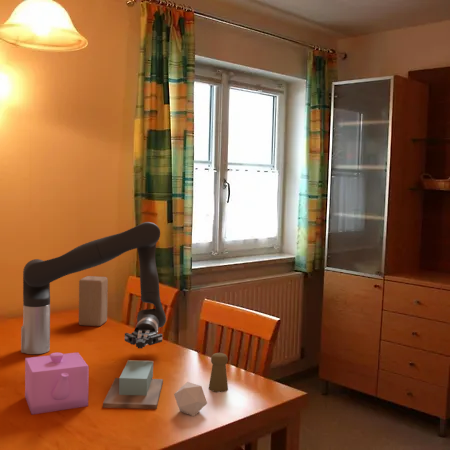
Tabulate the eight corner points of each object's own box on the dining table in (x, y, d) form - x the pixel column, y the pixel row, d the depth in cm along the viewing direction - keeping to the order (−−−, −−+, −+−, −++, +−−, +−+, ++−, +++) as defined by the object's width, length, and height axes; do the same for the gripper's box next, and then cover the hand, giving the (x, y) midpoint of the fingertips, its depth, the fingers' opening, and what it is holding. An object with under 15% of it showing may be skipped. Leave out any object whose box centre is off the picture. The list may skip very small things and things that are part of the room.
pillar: (127, 375, 181) (119, 394, 165) (128, 360, 180) (119, 378, 164) (152, 376, 181) (146, 395, 165) (153, 361, 180) (146, 378, 164)
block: (107, 321, 250) (108, 276, 249) (100, 327, 240) (101, 280, 239) (85, 319, 251) (86, 275, 250) (77, 325, 241) (78, 279, 240)
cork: (231, 387, 177) (232, 352, 176) (223, 393, 171) (224, 358, 170) (213, 383, 179) (215, 349, 178) (205, 389, 174) (206, 355, 173)
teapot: (35, 425, 146) (35, 372, 145) (22, 391, 168) (23, 345, 167) (94, 416, 153) (95, 365, 151) (74, 384, 175) (75, 340, 174)
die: (212, 414, 158) (205, 380, 162) (203, 409, 150) (196, 374, 155) (185, 422, 159) (179, 388, 164) (174, 418, 151) (168, 382, 156)
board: (102, 407, 158) (102, 403, 158) (115, 381, 178) (115, 377, 178) (156, 408, 158) (156, 404, 158) (162, 382, 178) (162, 379, 178)
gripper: (127, 319, 194) (119, 333, 176) (166, 320, 194) (161, 334, 177) (126, 340, 194) (118, 356, 177) (165, 341, 195) (160, 357, 177)
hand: (140, 345), depth 177 cm, fingers closed
